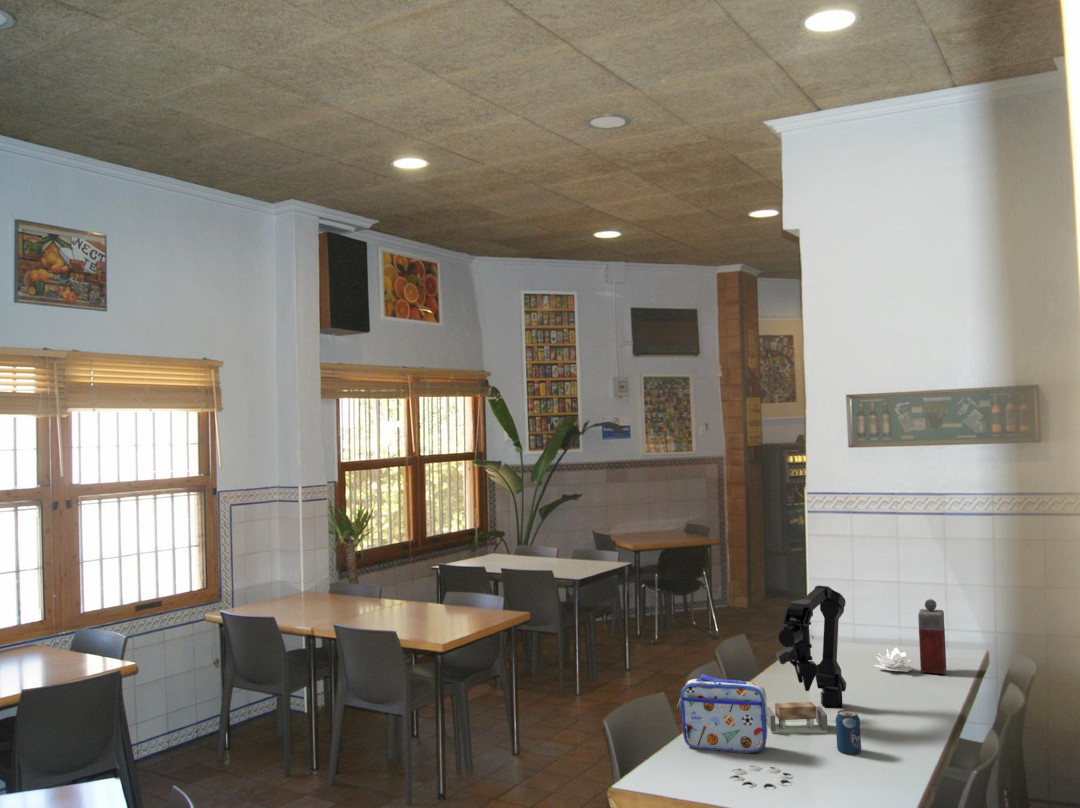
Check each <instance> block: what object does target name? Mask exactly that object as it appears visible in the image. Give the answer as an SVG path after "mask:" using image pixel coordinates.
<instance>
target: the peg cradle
mask: <svg viewBox="0 0 1080 808" xmlns="http://www.w3.org/2000/svg"><path fill="white" fill-rule="evenodd" d="M805 720H806V721H787V720H779V719H778V721H776V715H775V713H774V711H773V710H772V709H771V707H770V706H769V707H768V706H767V721H768V725H767V730H768V731H769V732H770V734H819V733H820V734H821V733H822V734H824V733H825V734H827V733H829V731H828V729H829V728H828V714H827V713H826V712H825V710H824V709H823V708H822V706H816V719H805ZM814 720H815V721H814Z"/></svg>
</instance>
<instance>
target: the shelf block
mask: <svg viewBox="0 0 1080 808" xmlns="http://www.w3.org/2000/svg"><path fill="white" fill-rule="evenodd" d="M816 707H817V706H816V705H815V704H814V703H813V702H812V701H799V702H796V701H795V702H775V703H774V709H775V711H774V712H775V713H774V715H775V718H777V719H778V721H779V720H785V721H793V720H794V721H795V720H796V721H797V720H806V719H814V720H816Z"/></svg>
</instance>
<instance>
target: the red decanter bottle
mask: <svg viewBox="0 0 1080 808" xmlns="http://www.w3.org/2000/svg"><path fill="white" fill-rule="evenodd" d="M924 607H925V608H920V609H919V612H918V613H917V614H918V615H917V616H918V617H917V618H918V622H917V623H918V639H919V640H918V643H919V659H920V660H919V661H920V662H919V664H920V666H919V667H920V673H931V674H941V675H943V674H945V675H946V673H947V654H946V653H947V652H946V650H947V649H946V634H945V633H946V631H945V630H946V629H945V612H944V610H943V609H936V608H937V602H936V601H935V600H934V599H932V598H929V599H926V600H925V602H924Z"/></svg>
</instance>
